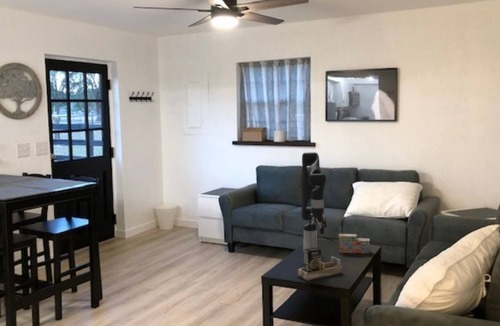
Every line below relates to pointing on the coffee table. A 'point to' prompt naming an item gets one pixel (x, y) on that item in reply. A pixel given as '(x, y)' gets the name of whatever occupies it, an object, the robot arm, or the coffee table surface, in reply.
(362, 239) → the stack of blocks
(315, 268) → the coffee box
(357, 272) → the coffee table surface
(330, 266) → the wooden tray
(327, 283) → the coffee table surface
